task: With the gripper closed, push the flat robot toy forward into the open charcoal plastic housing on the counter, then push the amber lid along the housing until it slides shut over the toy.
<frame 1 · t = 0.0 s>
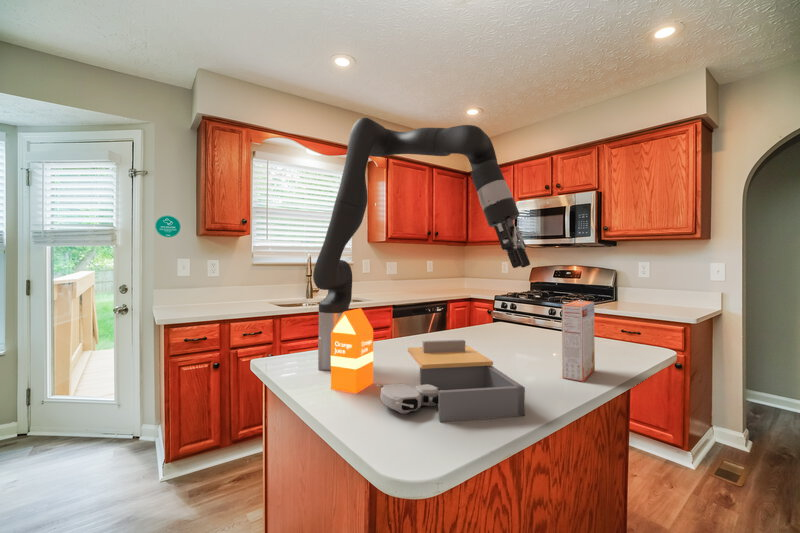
hand: (522, 266, 86), 31 cm above the table, tool tilted 20°, fingers open, 8 cm apart
lid: (447, 350, 101), point 8 cm above the table, slide at 16.0 cm
cracker box: (578, 375, 107), on the table
robot toy: (413, 407, 83), on the table
housing: (464, 402, 85), on the table
orange juice: (352, 386, 97), on the table
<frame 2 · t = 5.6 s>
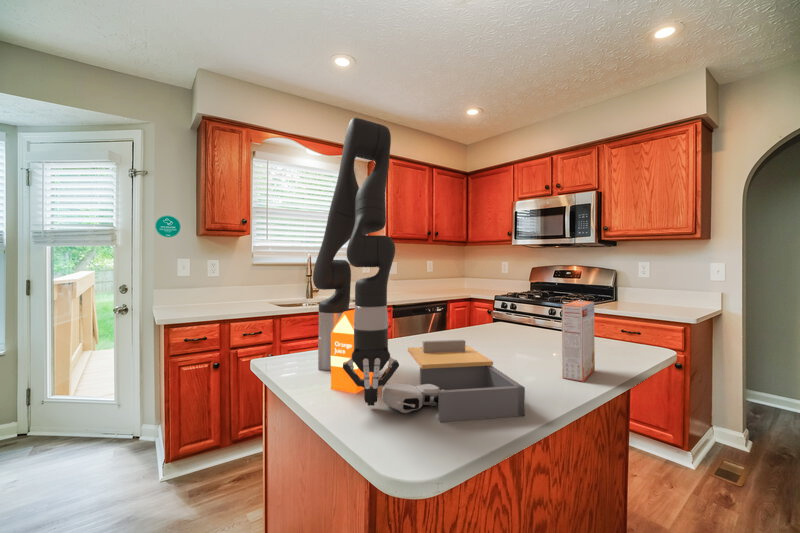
hand: (370, 404, 81), 1 cm above the table, tool pointing down, fingers closed
robot toy: (415, 407, 83), on the table, touching gripper
everything else where it was.
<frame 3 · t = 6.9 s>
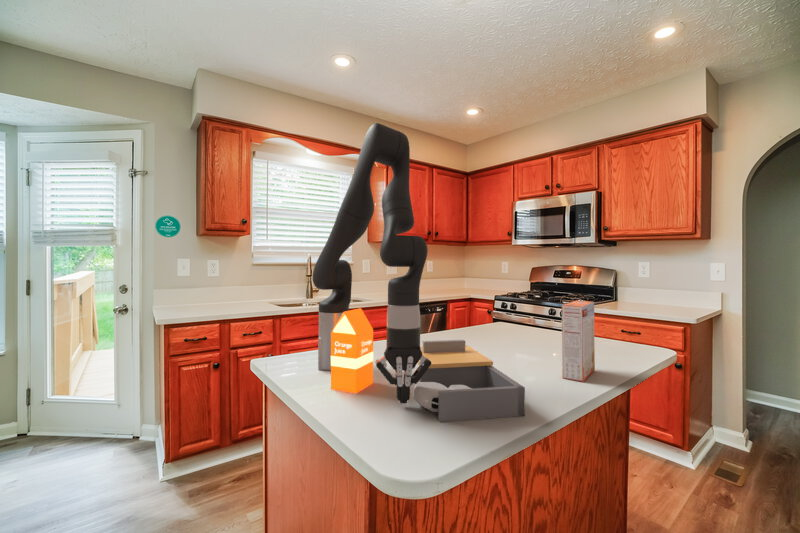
hand: (403, 401, 82), 1 cm above the table, tool pointing down, fingers closed
robot toy: (446, 407, 83), on the table, touching gripper
everything else where it was.
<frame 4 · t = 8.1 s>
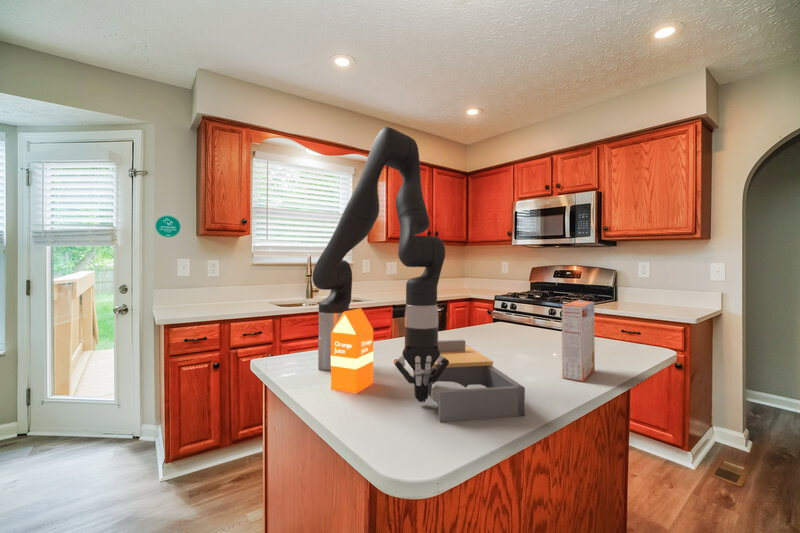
hand: (421, 400, 83), 1 cm above the table, tool pointing down, fingers closed
robot toy: (464, 406, 84), on the table
everything else where it was.
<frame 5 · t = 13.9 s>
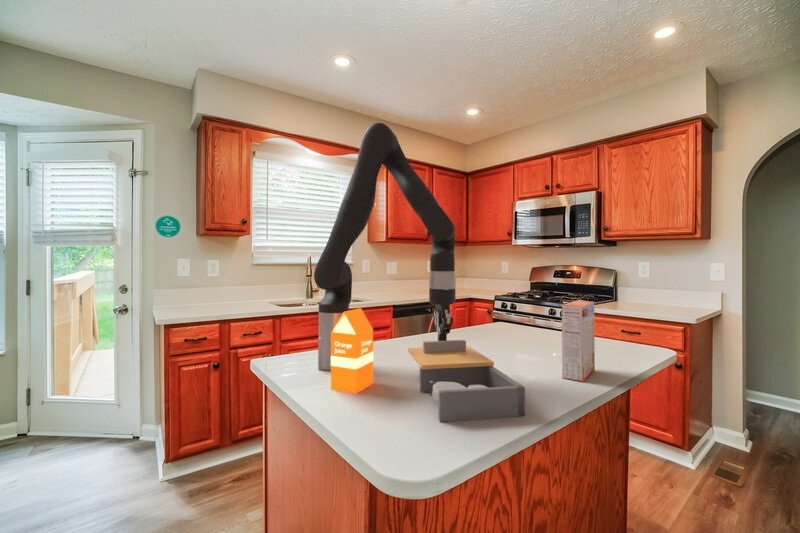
hand: (442, 346, 106), 8 cm above the table, tool pointing down, fingers closed
lid: (447, 350, 101), point 8 cm above the table, slide at 15.5 cm, touching gripper
everything else where it was.
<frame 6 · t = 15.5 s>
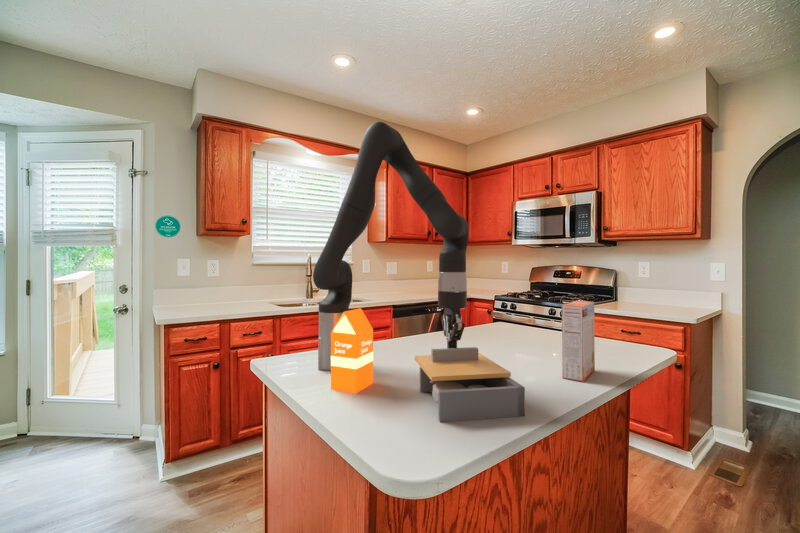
hand: (452, 354, 97), 8 cm above the table, tool pointing down, fingers closed
lid: (458, 359, 91), point 8 cm above the table, slide at 6.3 cm, touching gripper
everything else where it was.
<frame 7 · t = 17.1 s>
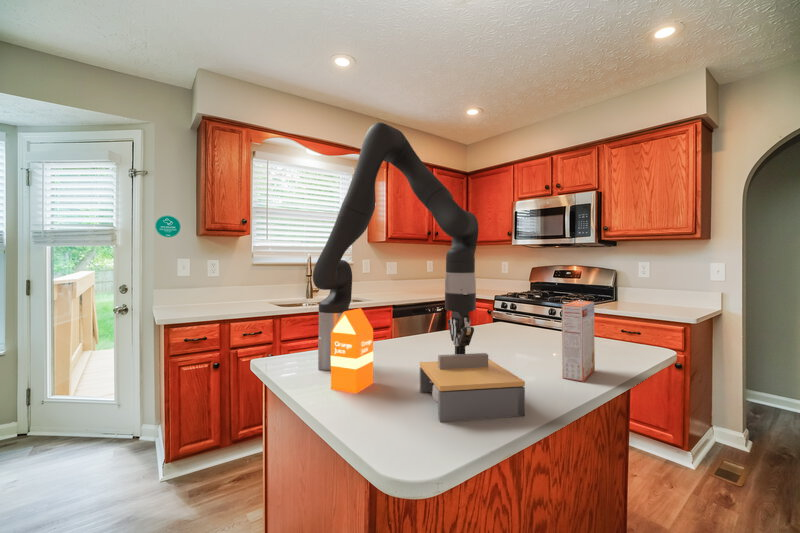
hand: (460, 361, 91), 8 cm above the table, tool pointing down, fingers closed
lid: (467, 366, 85), point 8 cm above the table, slide at 0.0 cm, touching gripper
everything else where it was.
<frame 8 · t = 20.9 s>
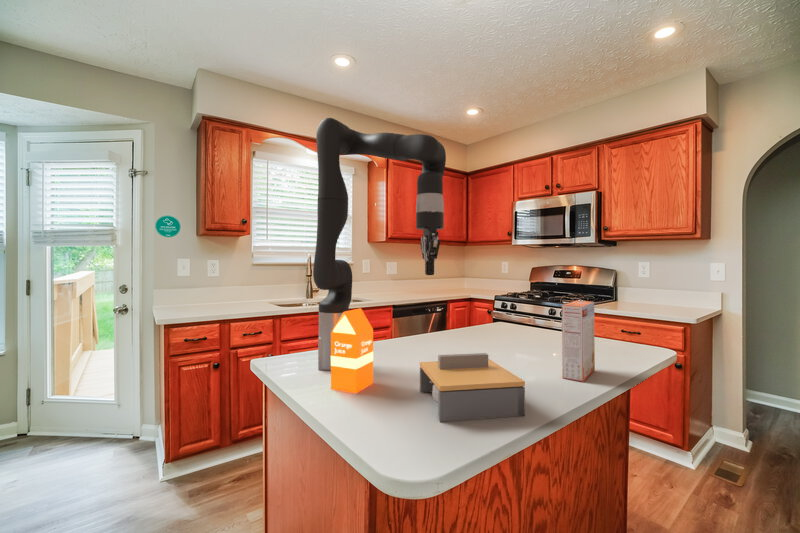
hand: (429, 275, 101), 29 cm above the table, tool pointing down, fingers closed
lid: (467, 366, 85), point 8 cm above the table, slide at 0.0 cm
everything else where it was.
at the end: robot toy inside the target area (1.9 cm from its centre), on the table; lid slide at 0.0 cm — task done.
